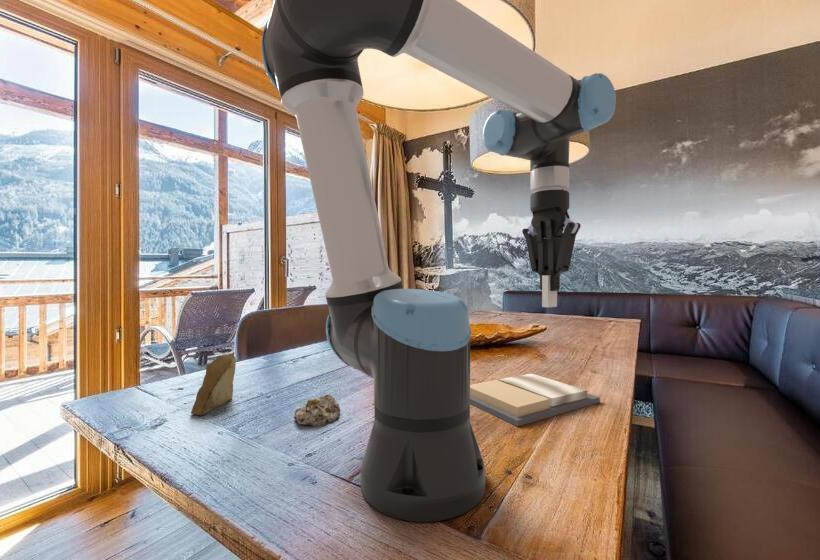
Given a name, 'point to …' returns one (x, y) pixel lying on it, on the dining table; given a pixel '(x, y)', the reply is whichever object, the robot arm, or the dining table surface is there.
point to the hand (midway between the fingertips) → (549, 306)
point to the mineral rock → (318, 411)
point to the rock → (216, 385)
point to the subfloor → (519, 402)
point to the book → (547, 388)
